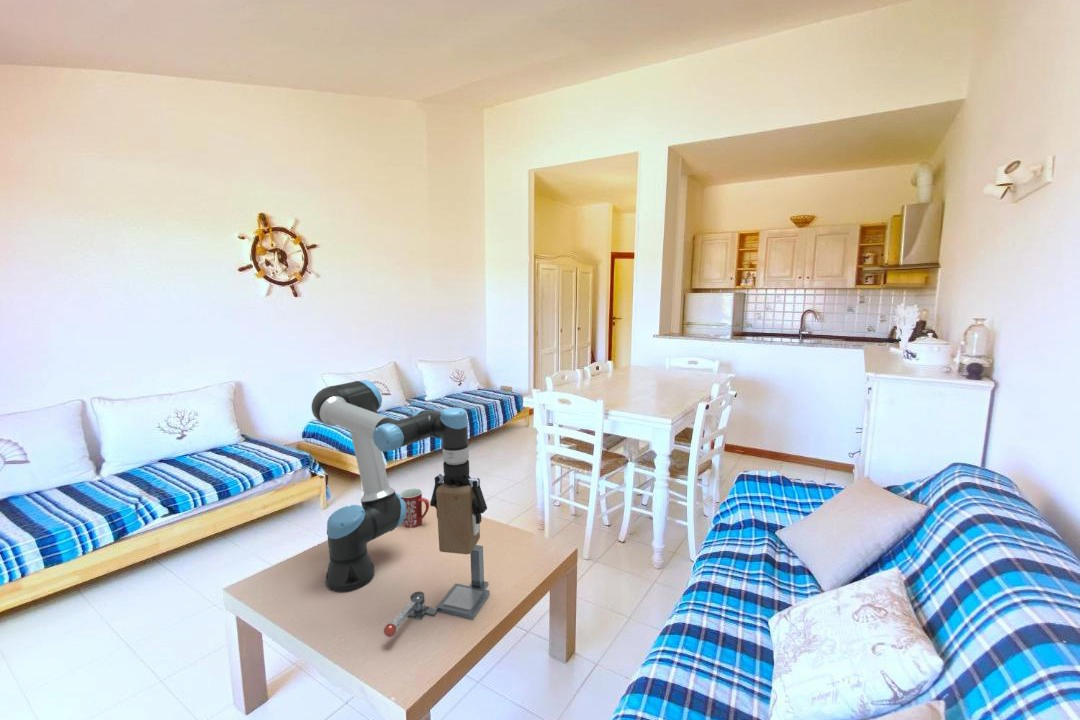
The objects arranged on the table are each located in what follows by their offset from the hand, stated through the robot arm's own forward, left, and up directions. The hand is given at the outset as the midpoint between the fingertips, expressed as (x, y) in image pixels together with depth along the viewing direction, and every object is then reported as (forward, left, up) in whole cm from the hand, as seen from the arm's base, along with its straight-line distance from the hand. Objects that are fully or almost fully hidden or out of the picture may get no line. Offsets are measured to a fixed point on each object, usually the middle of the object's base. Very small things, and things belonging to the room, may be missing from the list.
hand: (459, 530), depth 144 cm
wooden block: (0, 0, -5) cm, 5 cm away
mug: (-40, +37, -24) cm, 59 cm away
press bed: (-3, -1, -23) cm, 23 cm away
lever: (-10, -15, -20) cm, 27 cm away
